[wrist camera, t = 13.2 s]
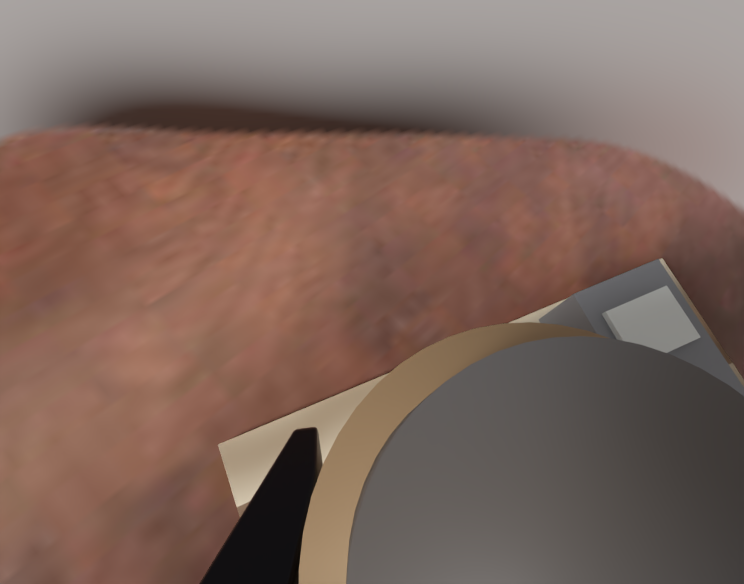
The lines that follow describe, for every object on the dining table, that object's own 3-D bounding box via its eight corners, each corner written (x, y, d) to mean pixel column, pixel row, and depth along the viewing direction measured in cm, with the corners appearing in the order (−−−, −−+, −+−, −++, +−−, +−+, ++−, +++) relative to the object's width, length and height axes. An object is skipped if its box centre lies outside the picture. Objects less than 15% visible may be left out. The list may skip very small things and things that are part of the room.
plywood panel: (925, 678, 18) (950, 687, 17) (403, 1037, 14) (406, 1070, 13) (652, 264, 23) (662, 258, 23) (223, 445, 20) (217, 444, 19)
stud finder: (686, 410, 20) (759, 399, 17) (609, 447, 19) (667, 445, 16) (611, 288, 22) (663, 255, 18) (538, 319, 21) (576, 291, 18)
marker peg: (504, 534, 14) (1136, 840, 3) (369, 599, 13) (466, 1382, 2) (442, 396, 15) (699, 218, 4) (316, 448, 15) (199, 412, 3)
